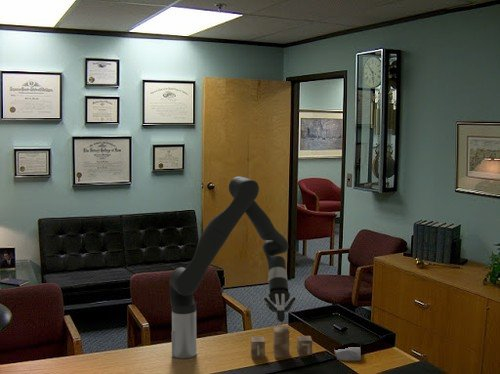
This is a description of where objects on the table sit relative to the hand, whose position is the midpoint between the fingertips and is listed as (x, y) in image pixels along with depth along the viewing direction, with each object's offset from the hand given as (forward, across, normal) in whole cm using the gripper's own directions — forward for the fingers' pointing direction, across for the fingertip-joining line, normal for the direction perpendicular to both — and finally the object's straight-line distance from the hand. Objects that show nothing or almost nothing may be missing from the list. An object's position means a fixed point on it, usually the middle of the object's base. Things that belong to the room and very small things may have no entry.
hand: (281, 321), depth 219 cm
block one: (+10, -9, +9) cm, 16 cm away
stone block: (+10, +25, +9) cm, 29 cm away
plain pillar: (+10, 0, +9) cm, 13 cm away
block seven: (+10, +9, +9) cm, 16 cm away
